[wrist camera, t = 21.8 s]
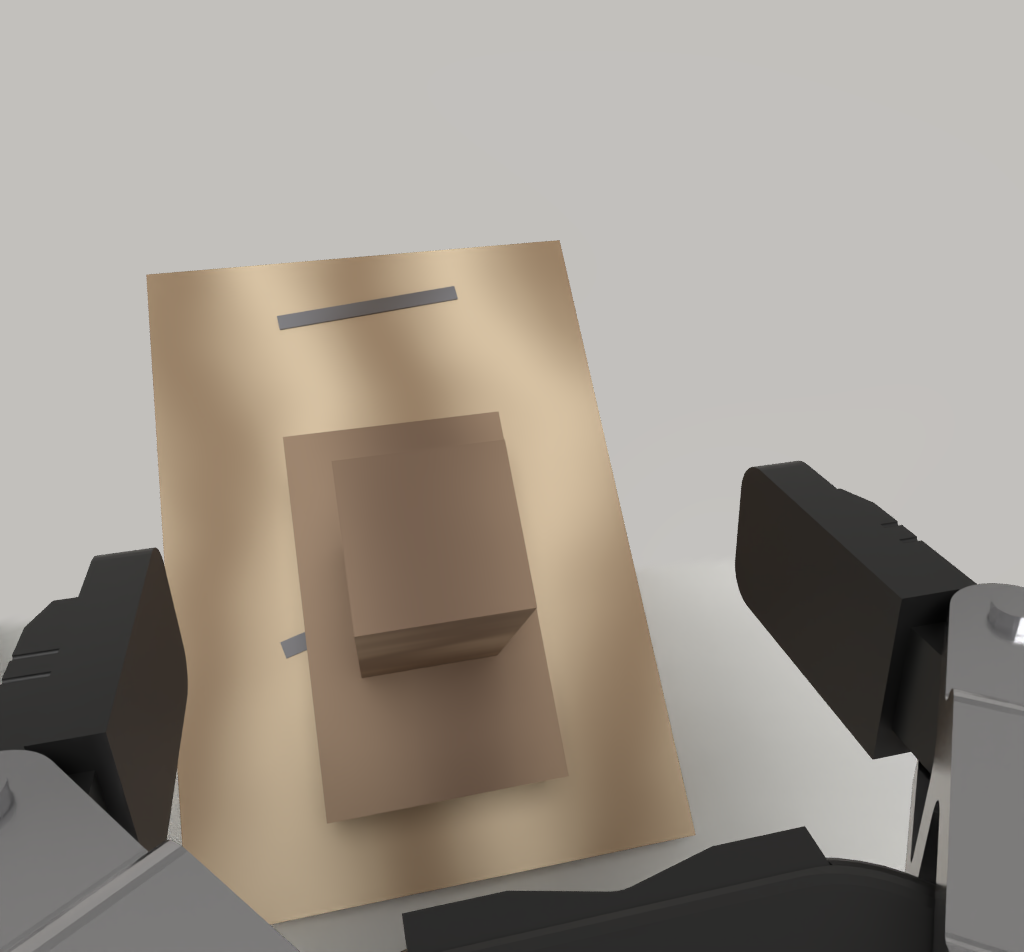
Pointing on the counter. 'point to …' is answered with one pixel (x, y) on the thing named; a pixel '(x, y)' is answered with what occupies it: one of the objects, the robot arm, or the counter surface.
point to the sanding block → (419, 615)
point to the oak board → (275, 580)
